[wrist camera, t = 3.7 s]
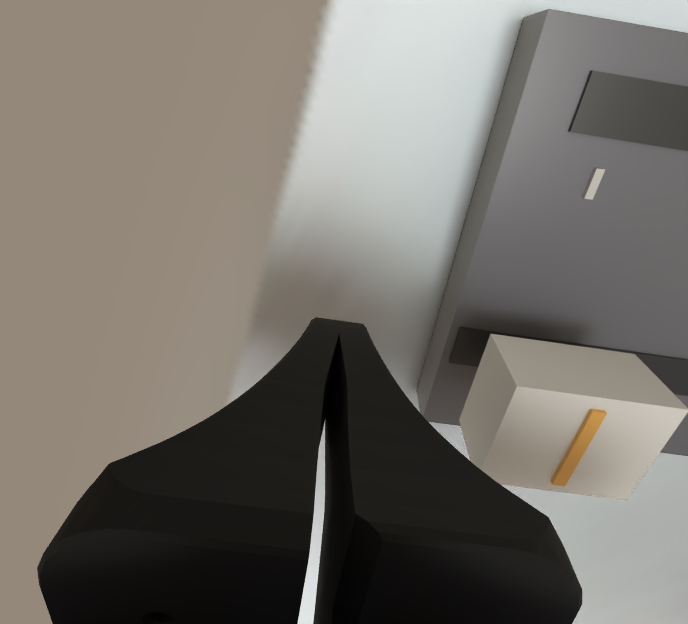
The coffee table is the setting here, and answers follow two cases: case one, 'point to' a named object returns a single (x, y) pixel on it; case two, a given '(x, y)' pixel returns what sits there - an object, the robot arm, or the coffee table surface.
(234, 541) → the robot arm
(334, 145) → the coffee table surface
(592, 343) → the mixer panel
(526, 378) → the cream fader
